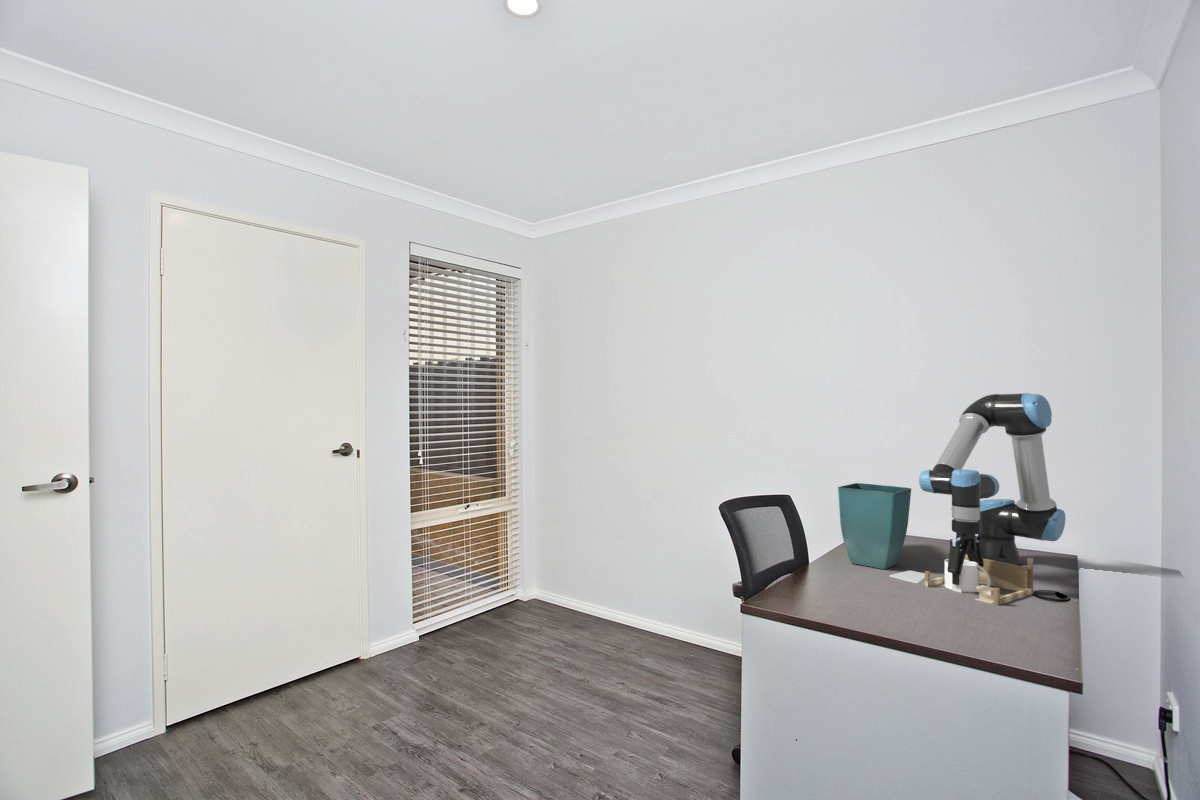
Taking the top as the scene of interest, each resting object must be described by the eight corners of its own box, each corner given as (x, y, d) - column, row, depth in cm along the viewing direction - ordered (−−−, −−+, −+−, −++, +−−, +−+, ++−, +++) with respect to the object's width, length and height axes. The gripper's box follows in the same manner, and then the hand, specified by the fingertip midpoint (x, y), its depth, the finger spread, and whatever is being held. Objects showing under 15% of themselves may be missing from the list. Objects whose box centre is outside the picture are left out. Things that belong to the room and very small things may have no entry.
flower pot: (912, 563, 218) (912, 487, 219) (895, 574, 204) (895, 492, 204) (856, 554, 232) (856, 482, 232) (837, 564, 217) (837, 487, 218)
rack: (961, 581, 196) (960, 544, 196) (1033, 598, 178) (1033, 558, 178) (924, 590, 185) (924, 552, 186) (997, 610, 167) (997, 567, 168)
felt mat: (910, 571, 207) (910, 570, 207) (945, 580, 197) (945, 578, 197) (889, 576, 201) (889, 574, 201) (924, 585, 191) (924, 583, 191)
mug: (942, 592, 183) (942, 562, 183) (946, 586, 190) (946, 557, 191) (988, 600, 176) (988, 569, 176) (991, 593, 183) (991, 563, 183)
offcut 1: (976, 591, 173) (976, 586, 173) (982, 590, 175) (982, 585, 175) (990, 595, 170) (990, 590, 170) (996, 593, 171) (996, 588, 171)
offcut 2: (981, 597, 175) (981, 590, 175) (997, 599, 172) (997, 592, 172) (979, 600, 172) (979, 593, 172) (995, 603, 169) (995, 596, 169)
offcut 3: (984, 603, 175) (984, 596, 175) (1000, 607, 171) (1000, 600, 171) (974, 605, 173) (974, 598, 173) (991, 610, 169) (991, 603, 169)
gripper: (971, 515, 192) (971, 584, 192) (933, 520, 181) (933, 594, 180) (996, 518, 186) (997, 590, 185) (959, 525, 174) (959, 601, 174)
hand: (965, 592), depth 183 cm, fingers closed on mug, 9 cm apart
